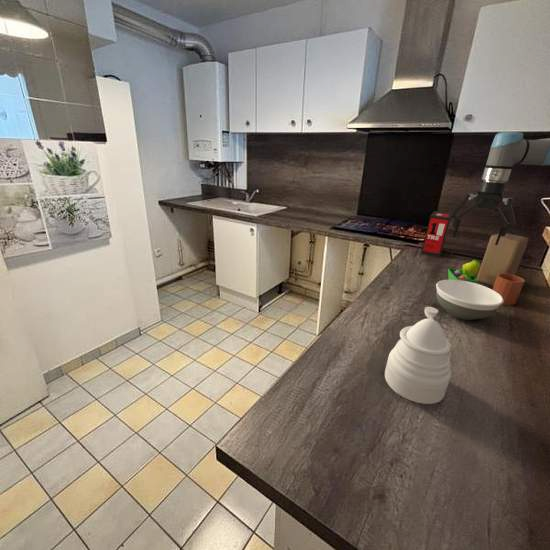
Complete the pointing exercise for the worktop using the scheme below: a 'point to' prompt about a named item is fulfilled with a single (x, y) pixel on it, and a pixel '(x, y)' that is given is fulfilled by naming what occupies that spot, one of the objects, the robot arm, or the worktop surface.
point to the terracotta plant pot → (508, 287)
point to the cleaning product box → (436, 233)
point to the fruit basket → (465, 272)
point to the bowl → (467, 299)
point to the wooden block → (502, 257)
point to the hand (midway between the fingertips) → (474, 240)
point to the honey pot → (420, 362)
